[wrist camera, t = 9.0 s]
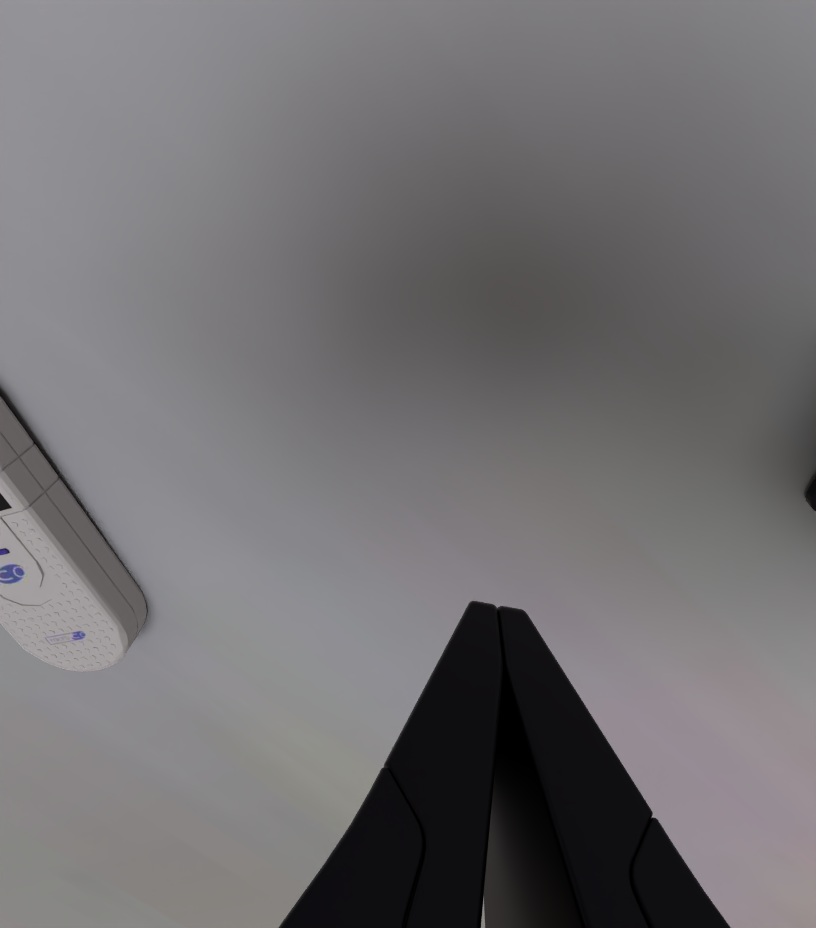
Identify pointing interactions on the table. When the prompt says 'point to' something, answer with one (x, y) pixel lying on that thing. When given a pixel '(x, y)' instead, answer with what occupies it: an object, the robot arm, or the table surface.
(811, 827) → the table surface
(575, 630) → the table surface
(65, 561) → the electronic device
